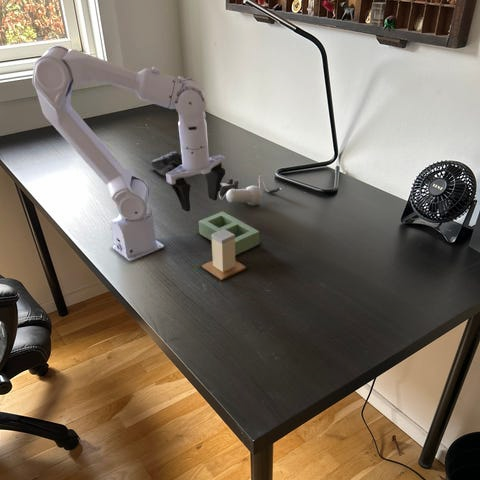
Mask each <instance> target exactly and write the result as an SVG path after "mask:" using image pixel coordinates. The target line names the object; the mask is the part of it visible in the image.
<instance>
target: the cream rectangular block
mask: <svg viewBox="0 0 480 480" xmlns="http://www.w3.org/2000/svg"><path fill="white" fill-rule="evenodd" d="M211 238H212V241H211V255H212V260H213V266H214V267H216V268H217V269H219V270H221V271H222V272H224V271H226V270H229V269H231V268H233V267H235V260H236V255H235V235H234V234H232V233H231V232H229V231H227V230H225V229H222V230H220V231H218V232H215V233H213V234H211Z"/></svg>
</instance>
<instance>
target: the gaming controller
mask: <svg viewBox="0 0 480 480" xmlns="http://www.w3.org/2000/svg"><path fill="white" fill-rule="evenodd" d="M175 163H176V164H178V165H179V166H180V165H182V164H183V163H182V153H181V152H178V151H170V152H169V153H166V154H164V155H161V156H159V157H158V158H155V159H152V160H151V161H150V163H149V164H150V168H151V170H152V171H156V172H158V173H159V175H161V176H164V177H166V173H168V172H170V170H169V167H168V166H170V165H172V164H175Z"/></svg>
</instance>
